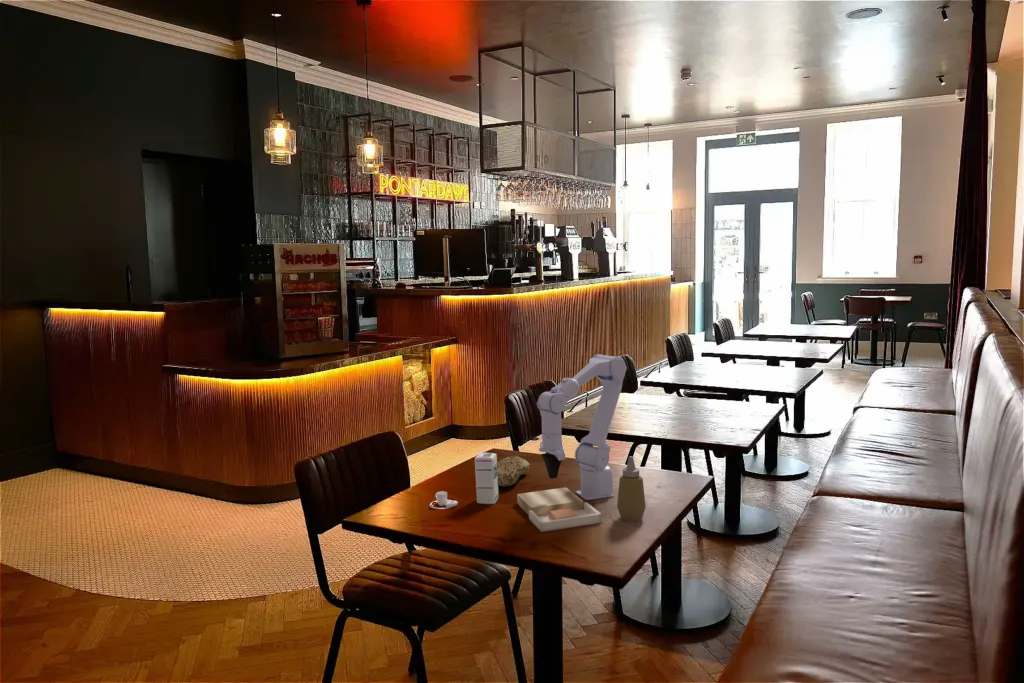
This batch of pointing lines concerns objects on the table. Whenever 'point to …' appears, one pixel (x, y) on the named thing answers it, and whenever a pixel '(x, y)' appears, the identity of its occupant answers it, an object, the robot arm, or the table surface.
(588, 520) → the tray
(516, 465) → the sponge
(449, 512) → the table surface
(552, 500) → the platform
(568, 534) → the table surface
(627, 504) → the squeeze bottle
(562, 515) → the tile
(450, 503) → the teacup and saucer
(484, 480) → the syrup box
